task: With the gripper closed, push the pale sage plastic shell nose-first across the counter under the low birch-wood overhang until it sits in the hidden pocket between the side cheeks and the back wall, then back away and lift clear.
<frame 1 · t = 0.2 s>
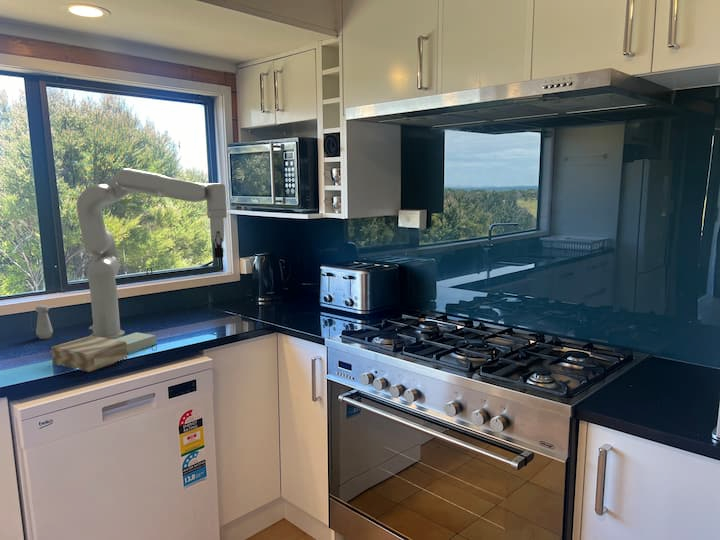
hand: (219, 256, 219), 31 cm above the worktop, tool pointing down, fingers open, 9 cm apart
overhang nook: (90, 361, 183), on the worktop
salt shaker: (45, 338, 212), on the worktop
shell: (132, 347, 199), on the worktop
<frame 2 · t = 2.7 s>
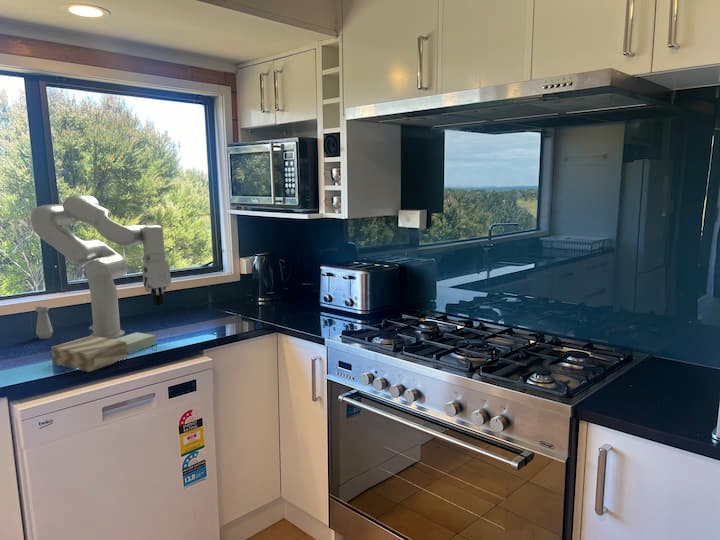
hand: (158, 304, 208), 14 cm above the worktop, tool pointing down, fingers closed
nothing on the worktop moved.
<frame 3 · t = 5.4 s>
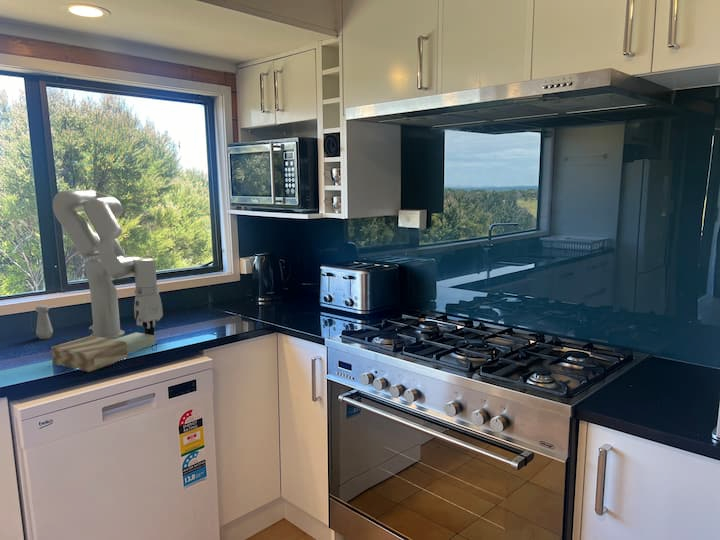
hand: (149, 337, 206), 2 cm above the worktop, tool pointing down, fingers closed
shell: (132, 347, 199), on the worktop, touching gripper
everything else where it was.
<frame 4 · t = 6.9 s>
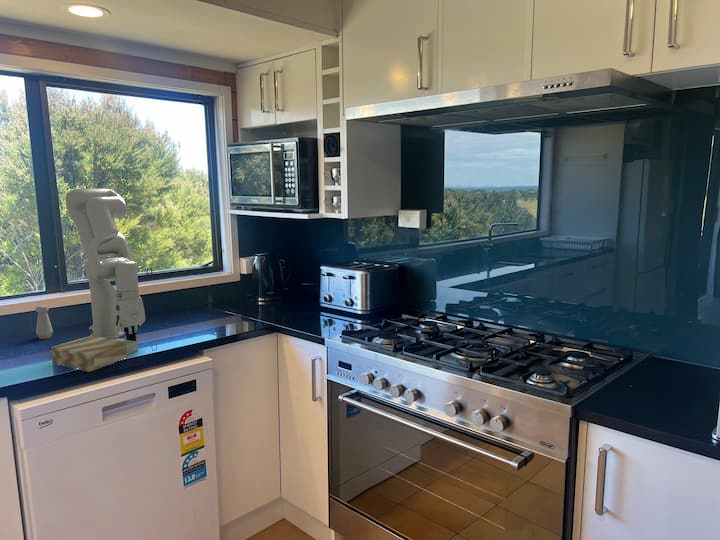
hand: (131, 343, 198), 2 cm above the worktop, tool pointing down, fingers closed
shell: (113, 354, 191), on the worktop, touching gripper
everything else where it was.
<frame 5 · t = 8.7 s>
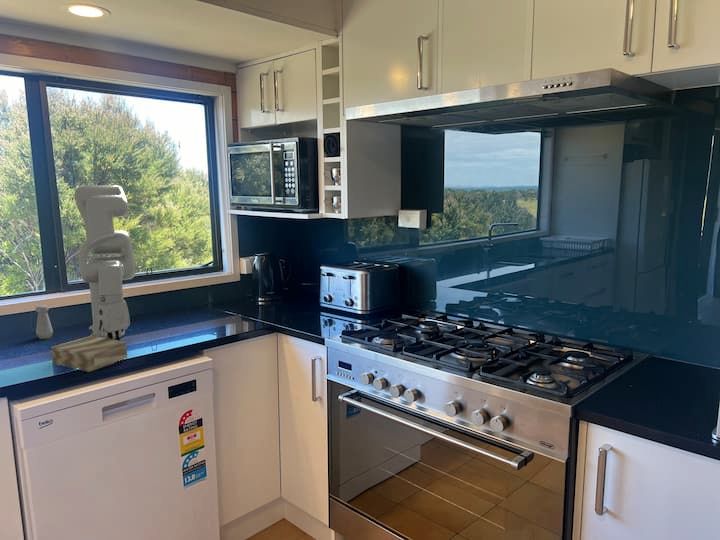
hand: (115, 348, 192), 2 cm above the worktop, tool pointing down, fingers closed
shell: (96, 359, 185), on the worktop, touching gripper
everything else where it was.
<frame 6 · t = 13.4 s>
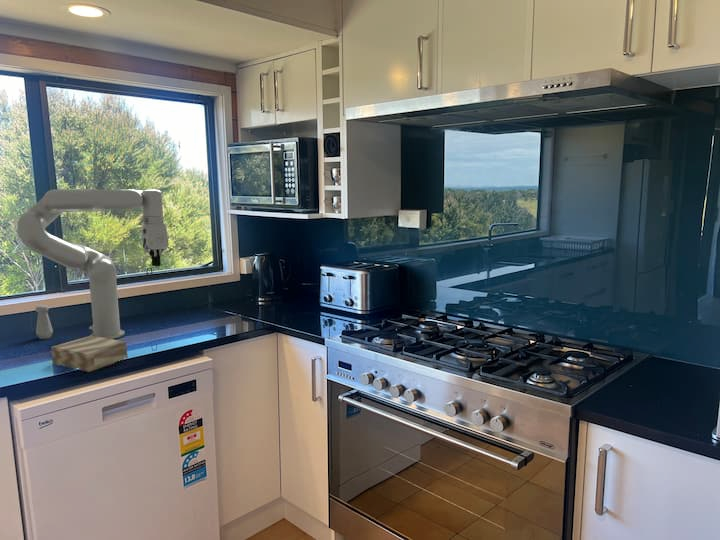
hand: (156, 265, 218), 27 cm above the worktop, tool pointing down, fingers closed
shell: (96, 359, 185), on the worktop
everything else where it was.
at the end: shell 0.4 cm from the target spot on the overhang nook, point 0.0 cm above the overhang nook's base; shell tilted 0°; the gripper is holding nothing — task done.
